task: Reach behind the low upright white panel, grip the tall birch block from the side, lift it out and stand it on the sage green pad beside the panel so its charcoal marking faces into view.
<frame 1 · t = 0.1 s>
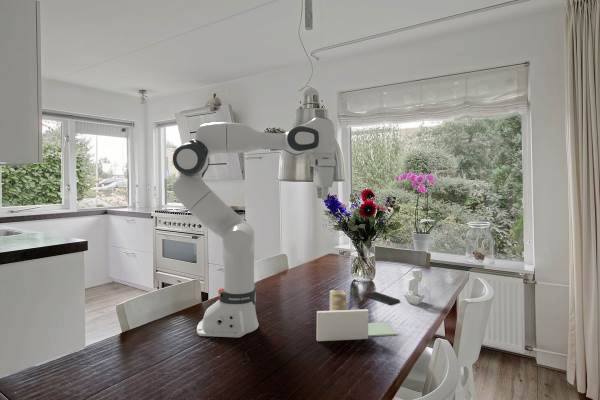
hand: (321, 199, 135), 48 cm above the table, tool pointing down, fingers open, 8 cm apart
figurine: (414, 302, 162), on the table
phone: (382, 300, 166), on the table
marked block: (337, 329, 133), on the table
pad: (378, 329, 133), on the table
upright white panel: (342, 339, 125), on the table
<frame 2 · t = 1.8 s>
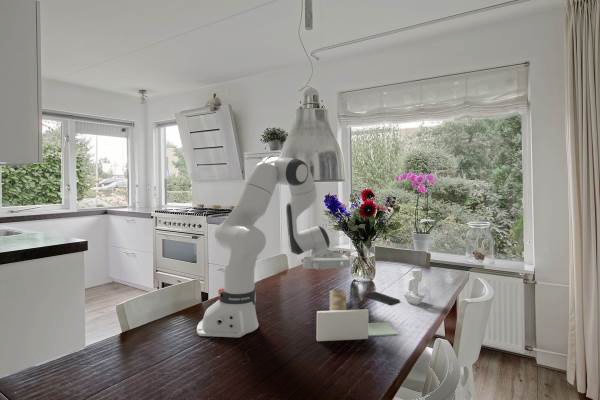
hand: (329, 267, 146), 19 cm above the table, tool horizontal, fingers open, 8 cm apart
nothing on the table moved.
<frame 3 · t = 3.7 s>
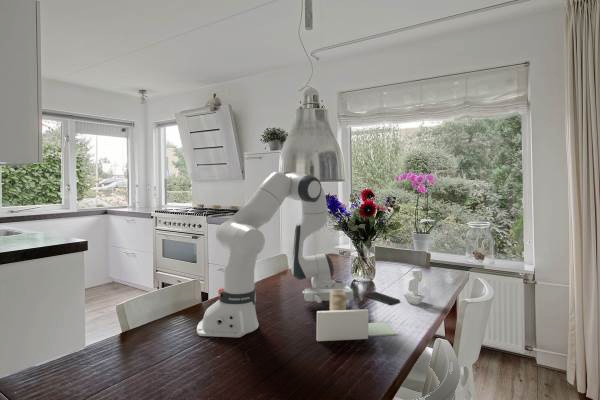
hand: (332, 300, 141), 8 cm above the table, tool horizontal, fingers open, 8 cm apart
nothing on the table moved.
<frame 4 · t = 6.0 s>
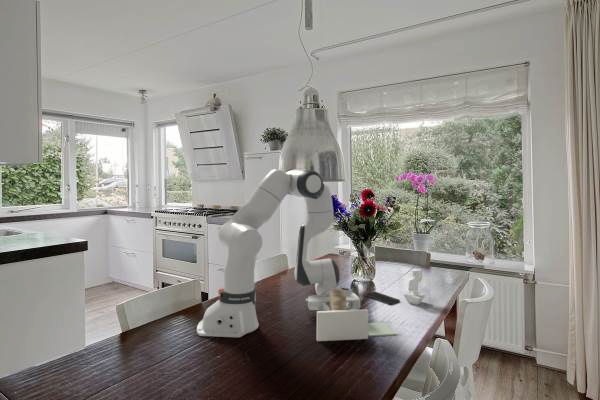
hand: (338, 309, 131), 8 cm above the table, tool horizontal, fingers closed on marked block, 5 cm apart
marked block: (337, 329, 133), on the table, touching gripper
everything else where it was.
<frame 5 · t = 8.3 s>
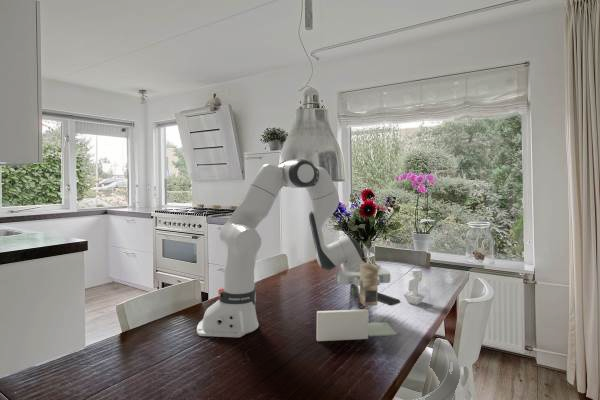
hand: (369, 283, 131), 18 cm above the table, tool horizontal, fingers closed on marked block, 5 cm apart
marked block: (368, 303, 133), point 10 cm above the table, touching gripper
everything else where it was.
when the fingers open (10 cm above the table, at t = 10.8 s): marked block drops 1 cm, resting on pad.
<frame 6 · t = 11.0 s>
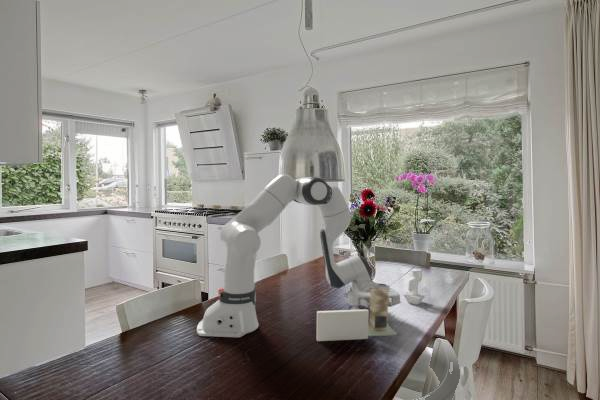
hand: (379, 305, 131), 10 cm above the table, tool horizontal, fingers open, 7 cm apart
marked block: (378, 328, 133), point 1 cm above the table, touching pad
everything else where it was.
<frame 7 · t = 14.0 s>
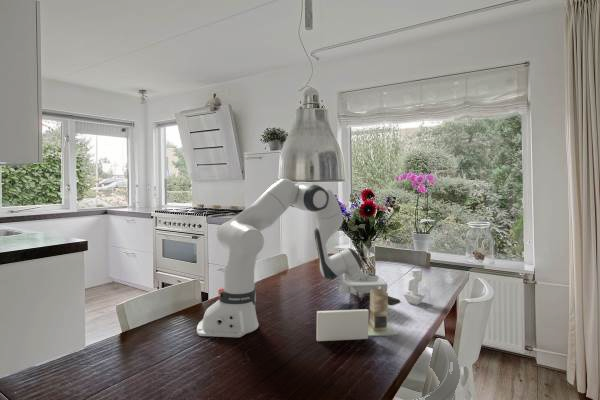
hand: (368, 292, 145), 10 cm above the table, tool horizontal, fingers open, 8 cm apart
nothing on the table moved.
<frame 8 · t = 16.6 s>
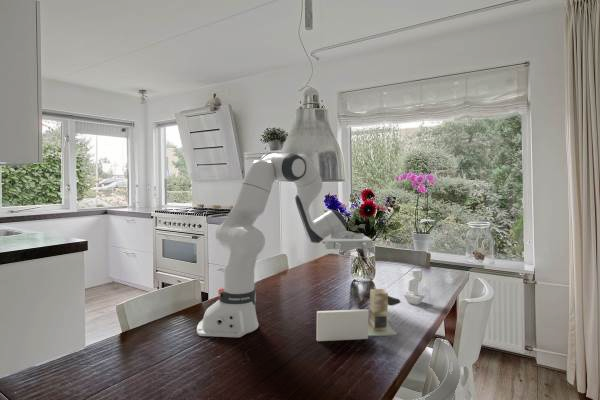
hand: (352, 247, 145), 28 cm above the table, tool horizontal, fingers open, 8 cm apart
nothing on the table moved.
at the end: marked block 0.1 cm off-centre on the pad, point 0.5 cm above the pad's base; marked block tilted 0°; the gripper is holding nothing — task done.
